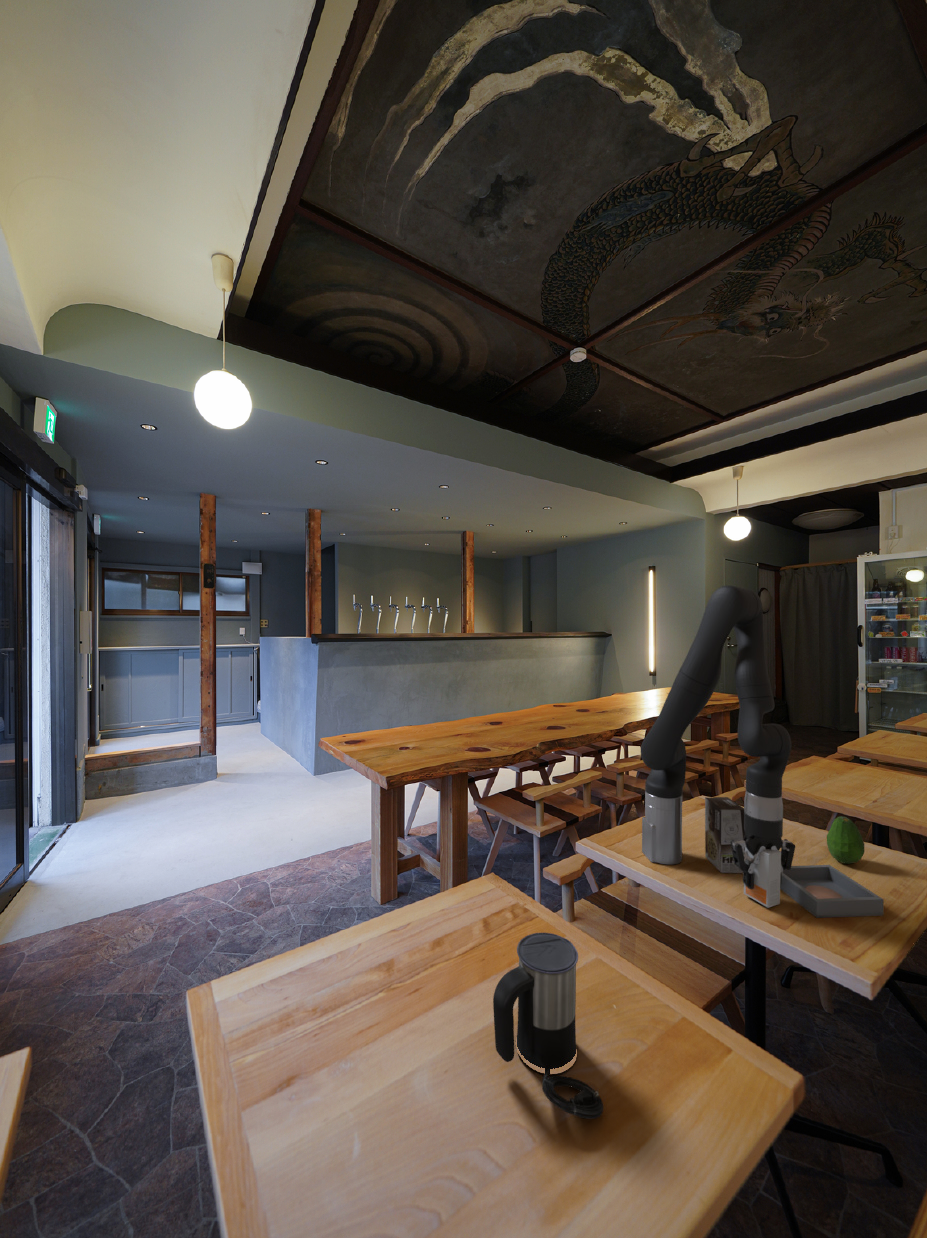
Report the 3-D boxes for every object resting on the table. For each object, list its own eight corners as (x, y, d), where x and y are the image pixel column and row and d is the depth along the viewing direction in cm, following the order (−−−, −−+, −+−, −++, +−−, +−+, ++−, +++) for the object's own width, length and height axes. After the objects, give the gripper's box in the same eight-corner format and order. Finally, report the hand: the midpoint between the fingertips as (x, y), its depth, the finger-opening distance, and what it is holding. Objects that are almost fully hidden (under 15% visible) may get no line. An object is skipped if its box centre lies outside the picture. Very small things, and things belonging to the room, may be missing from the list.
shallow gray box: (816, 918, 109) (817, 901, 109) (770, 881, 124) (770, 866, 124) (883, 915, 110) (883, 899, 109) (829, 879, 125) (829, 864, 124)
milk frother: (536, 1014, 83) (536, 924, 82) (631, 1070, 73) (632, 967, 72) (483, 1075, 72) (483, 971, 72) (586, 1151, 62) (586, 1030, 61)
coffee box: (746, 873, 127) (746, 809, 127) (720, 873, 127) (720, 809, 127) (728, 856, 136) (728, 796, 136) (704, 856, 136) (704, 796, 136)
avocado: (821, 861, 133) (822, 815, 133) (832, 852, 138) (832, 808, 138) (859, 873, 127) (859, 826, 127) (868, 864, 132) (869, 818, 132)
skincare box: (742, 894, 117) (743, 843, 116) (755, 890, 118) (756, 839, 118) (768, 909, 111) (769, 854, 111) (781, 904, 113) (782, 851, 113)
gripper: (742, 820, 110) (741, 897, 111) (806, 819, 111) (804, 895, 111) (722, 806, 118) (721, 879, 118) (782, 805, 118) (781, 877, 119)
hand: (762, 886), depth 115 cm, fingers closed on skincare box, 5 cm apart
